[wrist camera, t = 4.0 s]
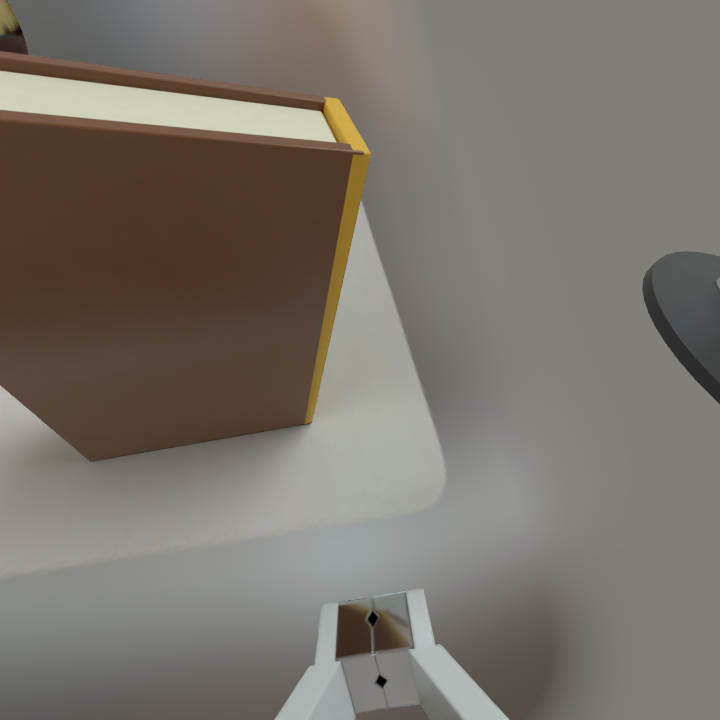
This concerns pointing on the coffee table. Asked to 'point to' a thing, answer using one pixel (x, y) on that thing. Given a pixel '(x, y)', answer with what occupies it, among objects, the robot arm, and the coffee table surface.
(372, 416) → the coffee table surface
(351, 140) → the book
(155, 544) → the coffee table surface
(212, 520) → the coffee table surface
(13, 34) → the vase
